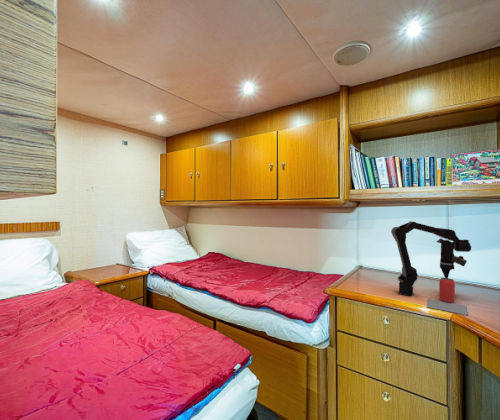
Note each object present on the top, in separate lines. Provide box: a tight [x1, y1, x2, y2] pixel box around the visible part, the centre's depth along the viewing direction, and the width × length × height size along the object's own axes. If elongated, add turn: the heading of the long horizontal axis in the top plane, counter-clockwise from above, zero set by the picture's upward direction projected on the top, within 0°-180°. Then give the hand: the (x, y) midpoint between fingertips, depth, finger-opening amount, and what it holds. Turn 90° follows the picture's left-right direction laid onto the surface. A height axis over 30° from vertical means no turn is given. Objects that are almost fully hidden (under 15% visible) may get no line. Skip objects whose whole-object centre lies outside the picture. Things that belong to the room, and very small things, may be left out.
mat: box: [426, 298, 469, 317], centre depth 129 cm, size 16×14×1 cm
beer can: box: [438, 277, 456, 304], centre depth 136 cm, size 7×7×12 cm
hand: (446, 278), depth 144 cm, fingers closed
